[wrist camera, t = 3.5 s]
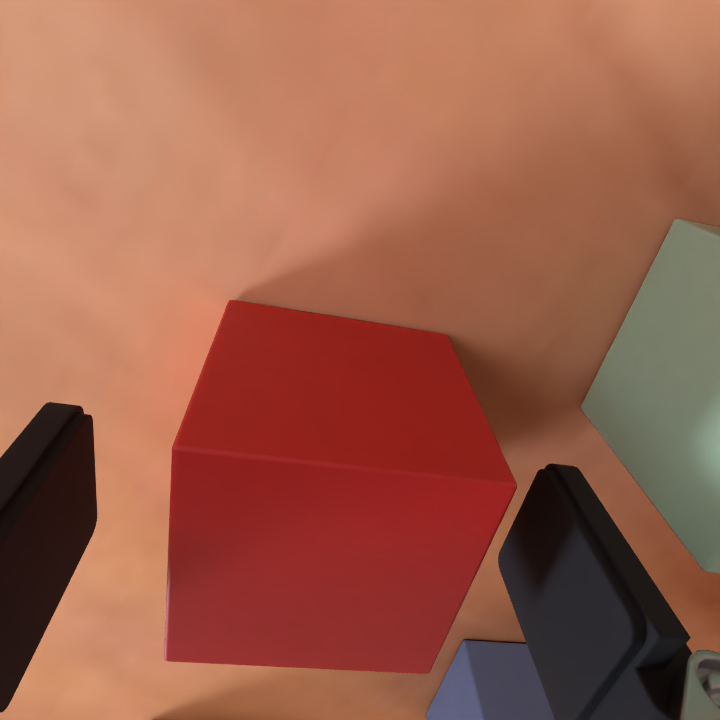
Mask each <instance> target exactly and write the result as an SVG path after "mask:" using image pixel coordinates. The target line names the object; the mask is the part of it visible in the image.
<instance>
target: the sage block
mask: <svg viewBox="0 0 720 720" xmlns="http://www.w3.org/2000/svg"><path fill="white" fill-rule="evenodd" d="M581 410H582V411H583V413H584V414H585V415H586V417H587V418H588V419H589V421H590V422H591V423H592V425H593V426H594V427H595V428H596V430H597V431H598V432H599V434H600V435H601V436H602V438H603V439H604V440H605V442H606V443H607V444H608V446H609V447H610V448H611V450H612V451H613V452H614V454H615V455H616V456H617V458H618V459H619V460H620V462H621V463H622V464H623V466H624V467H625V468H626V470H627V471H628V472H629V474H630V475H631V476H632V477H633V479H634V480H635V481H636V483H637V484H638V485H639V487H640V488H641V489H642V491H643V492H644V493H645V495H646V496H647V497H648V499H649V500H650V501H651V503H652V504H653V505H654V507H655V508H656V509H657V511H658V512H659V513H660V515H661V516H662V517H663V519H664V520H665V521H666V523H667V524H668V525H669V527H670V528H671V529H672V530H673V532H674V533H675V534H676V536H677V537H678V538H679V540H680V541H681V542H682V544H683V545H684V546H685V548H686V549H687V550H688V552H689V553H690V554H691V556H692V557H693V558H694V560H695V561H696V562H697V564H698V565H699V566H700V568H701V569H702V570H704V571H705V572H710V573H720V227H717V226H712V225H707V224H703V223H698V222H693V221H689V220H684V219H675V220H674V222H673V224H672V226H671V228H670V230H669V232H668V234H667V236H666V238H665V240H664V242H663V244H662V246H661V248H660V250H659V252H658V254H657V256H656V258H655V260H654V262H653V264H652V266H651V268H650V270H649V272H648V274H647V276H646V277H645V279H644V281H643V283H642V285H641V287H640V289H639V291H638V293H637V295H636V297H635V299H634V301H633V303H632V305H631V307H630V309H629V311H628V313H627V315H626V317H625V319H624V321H623V323H622V325H621V327H620V329H619V331H618V333H617V335H616V337H615V339H614V341H613V343H612V345H611V347H610V349H609V351H608V353H607V355H606V357H605V359H604V361H603V363H602V365H601V367H600V369H599V371H598V373H597V375H596V377H595V379H594V381H593V383H592V385H591V387H590V389H589V391H588V393H587V395H586V397H585V399H584V401H583V403H582V405H581Z"/></svg>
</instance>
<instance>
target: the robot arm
mask: <svg viewBox="0 0 720 720" xmlns="http://www.w3.org/2000/svg"><path fill="white" fill-rule="evenodd" d="M96 521H97V500H96V478H95V456H94V435H93V419H92V416H91V415H87V414H84V412H83V409H82V407H81V406H76V405H68V404H60V403H52V402H49V403H46V404H45V405H44V406H43V407H42V408H41V410H40V411H39V412H38V413H37V414H36V416H35V417H34V418H33V419H32V420H31V422H30V423H29V424H28V425H27V426H26V428H25V429H24V430H23V431H22V433H21V434H20V435H19V436H18V437H17V439H16V440H15V441H14V442H13V443H12V445H11V446H10V447H9V448H8V449H7V451H6V452H5V453H4V454H3V455H2V457H1V458H0V712H3V711H4V710H5V709H6V708H7V706H8V705H9V703H10V701H11V700H12V698H13V696H14V693H15V691H16V689H17V687H18V685H19V683H20V681H21V679H22V677H23V675H24V673H25V671H26V669H27V667H28V665H29V663H30V661H31V659H32V657H33V655H34V653H35V651H36V649H37V647H38V645H39V643H40V641H41V639H42V636H43V634H44V632H45V630H46V628H47V626H48V624H49V622H50V620H51V618H52V616H53V614H54V612H55V610H56V608H57V606H58V604H59V602H60V600H61V598H62V596H63V594H64V592H65V590H66V588H67V586H68V584H69V582H70V579H71V577H72V575H73V573H74V571H75V569H76V567H77V565H78V563H79V561H80V559H81V557H82V555H83V553H84V551H85V549H86V547H87V545H88V543H89V541H90V539H91V537H92V535H93V532H94V529H95V526H96ZM498 563H499V569H500V572H501V574H502V577H503V580H504V583H505V585H506V588H507V591H508V594H509V596H510V599H511V602H512V604H513V607H514V610H515V613H516V615H517V618H518V621H519V623H520V626H521V629H522V632H523V634H524V637H525V640H526V643H527V645H528V648H529V651H530V653H531V656H532V659H533V662H534V664H535V667H536V670H537V673H538V675H539V678H540V681H541V683H542V686H543V689H544V692H545V694H546V697H547V700H548V703H549V705H550V708H551V711H552V713H553V716H554V719H555V720H720V653H718V652H714V651H710V650H698V651H696V652H694V653H693V654H692V652H691V651H690V649H689V648H688V646H687V645H686V643H687V642H688V640H689V639H690V636H689V635H688V633H687V632H686V630H685V629H684V627H683V626H682V624H681V623H680V621H679V620H678V618H677V617H676V615H675V613H674V612H673V610H672V609H671V607H670V606H669V604H668V603H667V601H666V600H665V598H664V597H663V595H662V594H661V592H660V591H659V589H658V588H657V586H656V585H655V583H654V582H653V580H652V579H651V577H650V576H649V574H648V573H647V571H646V570H645V568H644V567H643V565H642V564H641V562H640V561H639V559H638V558H637V556H636V555H635V553H634V552H633V550H632V548H631V547H630V545H629V544H628V542H627V541H626V539H625V538H624V536H623V535H622V533H621V532H620V530H619V529H618V527H617V526H616V524H615V523H614V521H613V520H612V518H611V517H610V515H609V514H608V512H607V511H606V509H605V508H604V506H603V505H602V503H601V502H600V500H599V499H598V497H597V496H596V494H595V493H594V491H593V490H592V488H591V487H590V485H589V484H588V482H587V480H586V479H585V477H584V476H583V474H582V473H581V471H580V470H579V469H578V468H577V467H574V466H567V465H559V464H548V465H547V466H546V467H545V468H544V469H540V470H539V471H538V472H537V474H536V476H535V478H534V480H533V482H532V485H531V487H530V489H529V491H528V493H527V495H526V497H525V499H524V501H523V504H522V506H521V508H520V510H519V512H518V514H517V516H516V518H515V520H514V522H513V525H512V527H511V529H510V531H509V533H508V535H507V537H506V539H505V541H504V544H503V546H502V548H501V550H500V553H499V557H498Z"/></svg>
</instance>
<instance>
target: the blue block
mask: <svg viewBox="0 0 720 720" xmlns="http://www.w3.org/2000/svg"><path fill="white" fill-rule="evenodd" d="M426 718H427V720H555V719H554V716H553V713H552V711H551V708H550V705H549V703H548V700H547V697H546V694H545V692H544V689H543V686H542V683H541V681H540V678H539V675H538V673H537V670H536V667H535V664H534V662H533V659H532V656H531V653H530V651H529V648H528V645H527V644H520V643H503V642H487V641H471V640H464V641H463V642H462V644H461V646H460V648H459V649H458V651H457V653H456V655H455V657H454V659H453V661H452V663H451V665H450V667H449V669H448V671H447V673H446V675H445V677H444V679H443V681H442V683H441V685H440V687H439V689H438V691H437V693H436V695H435V697H434V699H433V701H432V703H431V705H430V707H429V709H428V711H427V713H426Z"/></svg>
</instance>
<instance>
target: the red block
mask: <svg viewBox="0 0 720 720" xmlns="http://www.w3.org/2000/svg"><path fill="white" fill-rule="evenodd" d="M516 488H517V484H516V481H515V479H514V477H513V475H512V473H511V471H510V469H509V466H508V464H507V462H506V460H505V458H504V456H503V454H502V451H501V449H500V447H499V445H498V443H497V441H496V439H495V437H494V434H493V432H492V430H491V428H490V426H489V424H488V422H487V419H486V417H485V415H484V413H483V411H482V409H481V407H480V404H479V402H478V400H477V398H476V396H475V394H474V392H473V390H472V387H471V385H470V383H469V381H468V379H467V377H466V375H465V372H464V370H463V368H462V366H461V364H460V362H459V360H458V357H457V355H456V353H455V351H454V349H453V347H452V345H451V342H450V340H449V338H448V336H447V335H445V334H440V333H434V332H428V331H422V330H415V329H409V328H403V327H397V326H390V325H384V324H378V323H372V322H365V321H359V320H353V319H347V318H340V317H334V316H328V315H322V314H315V313H309V312H303V311H297V310H290V309H284V308H278V307H272V306H265V305H259V304H253V303H247V302H240V301H234V300H230V301H229V302H228V304H227V306H226V309H225V312H224V314H223V317H222V319H221V322H220V325H219V327H218V330H217V332H216V335H215V338H214V340H213V343H212V345H211V348H210V351H209V353H208V356H207V358H206V361H205V364H204V366H203V369H202V371H201V374H200V377H199V379H198V382H197V384H196V387H195V390H194V392H193V395H192V397H191V400H190V403H189V405H188V408H187V410H186V413H185V416H184V418H183V421H182V423H181V426H180V429H179V431H178V434H177V436H176V439H175V442H174V444H173V447H172V465H171V491H170V518H169V544H168V570H167V596H166V622H165V648H164V658H165V660H166V661H172V662H192V663H213V664H233V665H253V666H274V667H294V668H314V669H335V670H355V671H375V672H396V673H416V674H427V673H429V672H430V670H431V668H432V666H433V664H434V662H435V660H436V658H437V655H438V653H439V651H440V649H441V647H442V645H443V643H444V641H445V639H446V637H447V634H448V632H449V630H450V628H451V626H452V624H453V622H454V620H455V618H456V615H457V613H458V611H459V609H460V607H461V605H462V603H463V601H464V599H465V596H466V594H467V592H468V590H469V588H470V586H471V584H472V582H473V580H474V577H475V575H476V573H477V571H478V569H479V567H480V565H481V563H482V561H483V558H484V556H485V554H486V552H487V550H488V548H489V546H490V544H491V542H492V539H493V537H494V535H495V533H496V531H497V529H498V527H499V525H500V523H501V521H502V518H503V516H504V514H505V512H506V510H507V508H508V506H509V504H510V502H511V499H512V497H513V495H514V493H515V491H516Z"/></svg>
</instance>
